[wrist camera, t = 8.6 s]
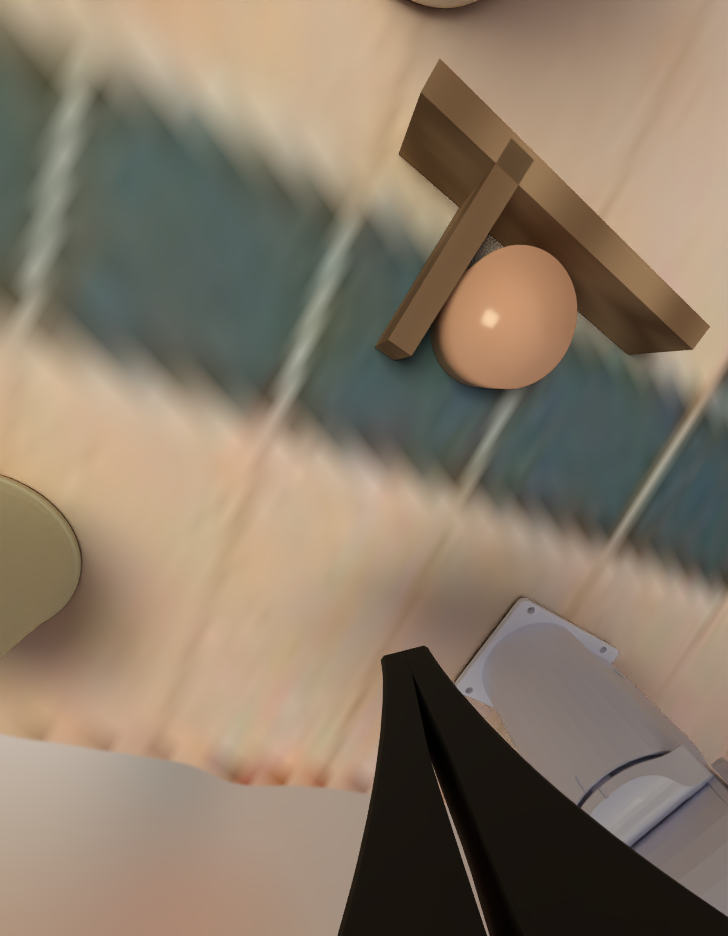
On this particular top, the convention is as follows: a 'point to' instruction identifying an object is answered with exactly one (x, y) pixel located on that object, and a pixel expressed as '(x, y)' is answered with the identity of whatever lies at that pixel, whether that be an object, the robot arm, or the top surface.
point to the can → (32, 562)
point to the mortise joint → (523, 228)
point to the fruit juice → (444, 3)
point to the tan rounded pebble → (506, 320)
